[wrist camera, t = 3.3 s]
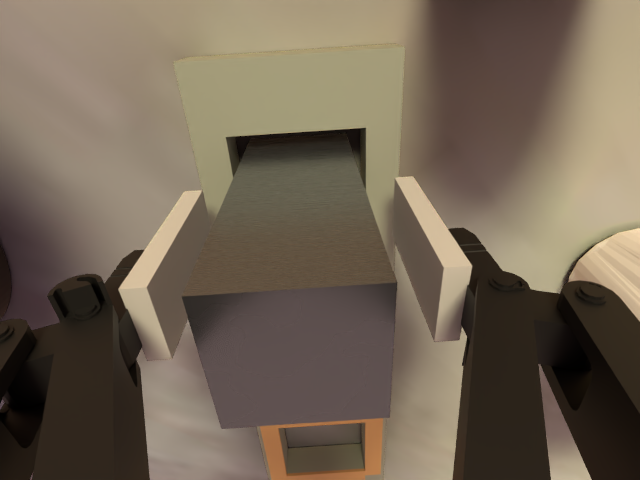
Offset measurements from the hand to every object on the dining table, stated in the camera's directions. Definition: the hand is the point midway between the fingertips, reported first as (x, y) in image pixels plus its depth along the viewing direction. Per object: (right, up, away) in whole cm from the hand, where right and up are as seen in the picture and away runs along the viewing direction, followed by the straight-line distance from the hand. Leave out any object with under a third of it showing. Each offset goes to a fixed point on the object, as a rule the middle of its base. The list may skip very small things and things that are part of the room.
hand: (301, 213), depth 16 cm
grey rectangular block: (0, +2, +3) cm, 4 cm away
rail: (0, -7, +8) cm, 11 cm away
